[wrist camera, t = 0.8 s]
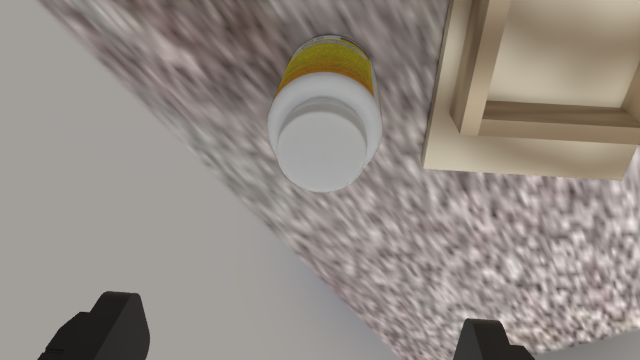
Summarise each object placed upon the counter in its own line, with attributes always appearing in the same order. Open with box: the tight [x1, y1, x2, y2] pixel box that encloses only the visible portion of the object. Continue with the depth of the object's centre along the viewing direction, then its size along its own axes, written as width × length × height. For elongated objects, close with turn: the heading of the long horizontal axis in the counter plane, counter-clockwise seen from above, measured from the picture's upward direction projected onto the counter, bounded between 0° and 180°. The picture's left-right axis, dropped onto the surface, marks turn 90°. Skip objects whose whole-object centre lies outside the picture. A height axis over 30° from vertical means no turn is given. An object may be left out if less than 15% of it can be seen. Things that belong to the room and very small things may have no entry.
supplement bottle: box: [267, 35, 383, 192], centre depth 23 cm, size 6×6×10 cm
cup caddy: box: [421, 0, 640, 181], centre depth 23 cm, size 19×13×4 cm
